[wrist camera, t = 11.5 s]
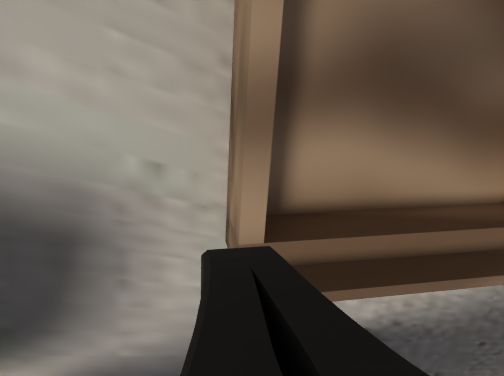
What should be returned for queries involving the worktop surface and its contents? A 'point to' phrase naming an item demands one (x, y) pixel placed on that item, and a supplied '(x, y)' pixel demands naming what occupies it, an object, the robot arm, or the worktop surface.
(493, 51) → the lid box
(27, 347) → the worktop surface
